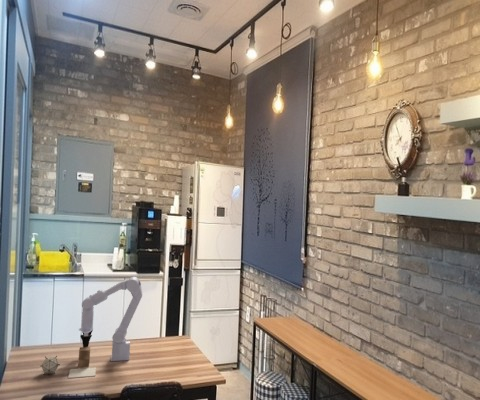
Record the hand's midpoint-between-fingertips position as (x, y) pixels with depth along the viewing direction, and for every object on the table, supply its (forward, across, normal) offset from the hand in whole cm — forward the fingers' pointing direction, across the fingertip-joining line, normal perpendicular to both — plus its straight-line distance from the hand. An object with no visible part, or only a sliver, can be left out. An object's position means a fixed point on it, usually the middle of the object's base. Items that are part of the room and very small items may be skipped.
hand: (86, 345), depth 211 cm
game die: (+7, +17, -15) cm, 24 cm away
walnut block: (+7, +11, 0) cm, 13 cm away
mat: (+7, +19, 0) cm, 20 cm away
